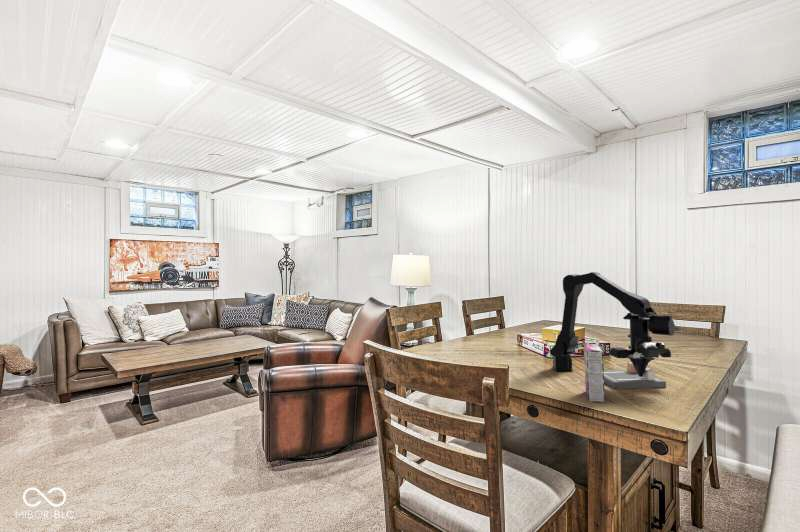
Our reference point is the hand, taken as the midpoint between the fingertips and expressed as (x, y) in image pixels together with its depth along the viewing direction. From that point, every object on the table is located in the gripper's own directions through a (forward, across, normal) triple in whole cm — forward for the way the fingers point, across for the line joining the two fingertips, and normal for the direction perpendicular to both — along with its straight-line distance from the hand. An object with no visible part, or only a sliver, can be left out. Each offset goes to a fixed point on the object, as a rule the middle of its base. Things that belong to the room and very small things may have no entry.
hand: (640, 376), depth 142 cm
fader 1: (+1, +3, +10) cm, 11 cm away
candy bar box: (+3, -22, -12) cm, 25 cm away
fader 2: (+1, +3, 0) cm, 3 cm away
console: (+3, -2, +5) cm, 6 cm away
